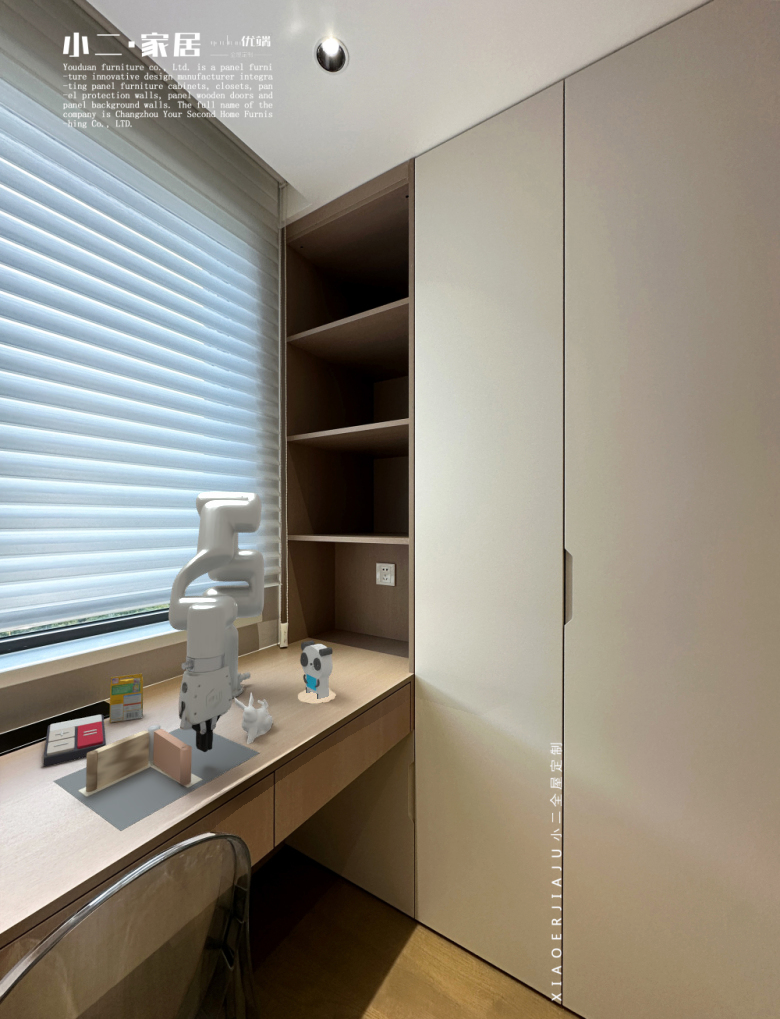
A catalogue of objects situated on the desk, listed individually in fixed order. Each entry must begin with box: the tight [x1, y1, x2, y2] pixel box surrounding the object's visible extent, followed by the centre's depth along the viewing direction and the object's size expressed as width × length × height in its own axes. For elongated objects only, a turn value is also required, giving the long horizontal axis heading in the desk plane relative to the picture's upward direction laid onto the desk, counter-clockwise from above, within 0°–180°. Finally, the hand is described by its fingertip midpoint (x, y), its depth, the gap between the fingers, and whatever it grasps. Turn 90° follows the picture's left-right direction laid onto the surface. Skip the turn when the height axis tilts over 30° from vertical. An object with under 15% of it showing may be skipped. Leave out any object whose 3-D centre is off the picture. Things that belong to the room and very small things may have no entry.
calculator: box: [43, 714, 107, 768], centre depth 104 cm, size 11×4×15 cm
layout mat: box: [53, 727, 260, 832], centre depth 96 cm, size 30×25×1 cm
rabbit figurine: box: [233, 692, 274, 745], centre depth 112 cm, size 12×8×10 cm, turn 157°
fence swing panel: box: [147, 724, 192, 785], centre depth 94 cm, size 15×2×7 cm, turn 52°
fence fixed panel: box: [85, 729, 149, 792], centre depth 92 cm, size 12×2×7 cm, turn 147°
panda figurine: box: [299, 640, 334, 699], centre depth 136 cm, size 12×11×15 cm
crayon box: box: [109, 672, 144, 724], centre depth 119 cm, size 7×3×12 cm, turn 115°
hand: (204, 748), depth 97 cm, fingers closed
